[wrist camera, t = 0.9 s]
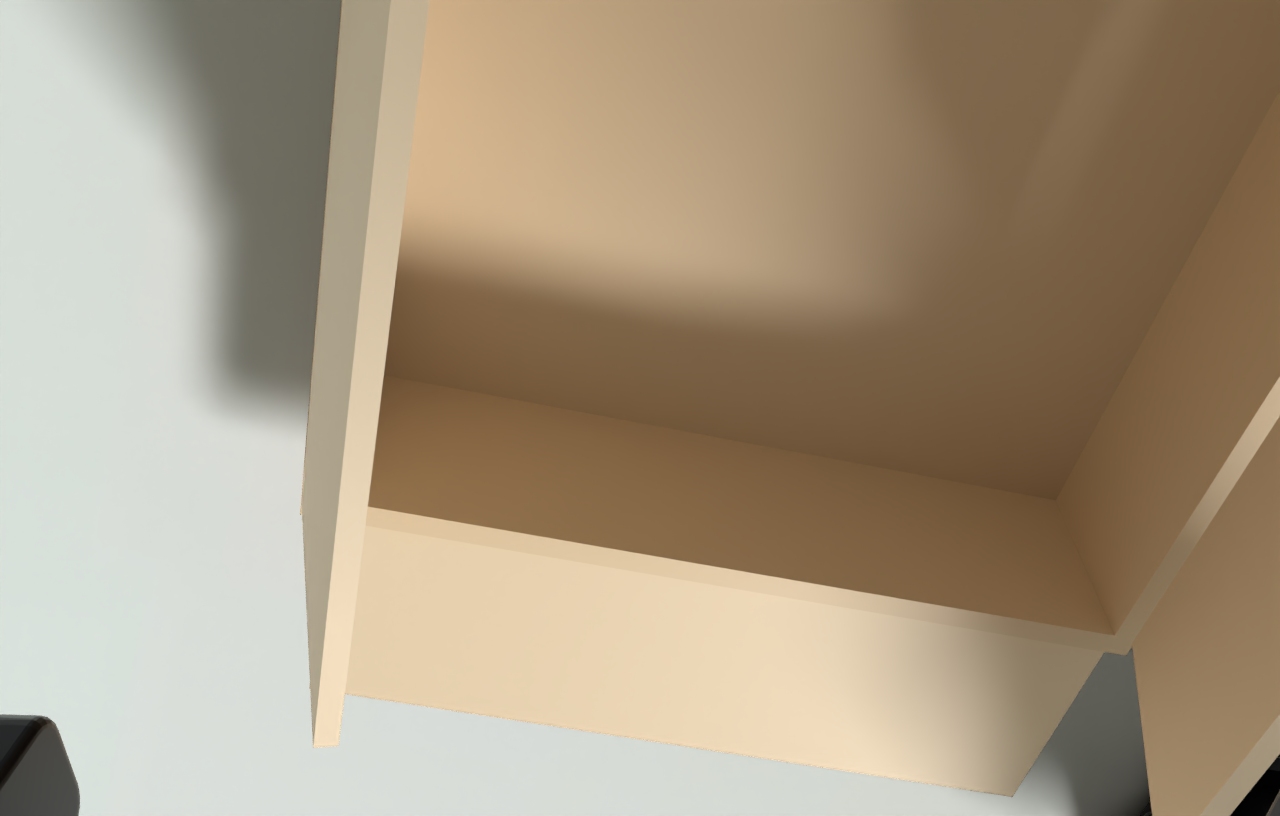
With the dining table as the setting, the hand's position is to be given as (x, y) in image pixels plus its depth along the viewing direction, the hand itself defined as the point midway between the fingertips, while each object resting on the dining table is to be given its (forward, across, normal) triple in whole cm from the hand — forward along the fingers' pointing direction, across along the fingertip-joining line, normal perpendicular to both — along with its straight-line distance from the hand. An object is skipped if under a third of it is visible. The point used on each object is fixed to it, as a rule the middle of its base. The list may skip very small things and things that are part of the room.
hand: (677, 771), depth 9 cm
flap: (+8, +4, -4) cm, 10 cm away
